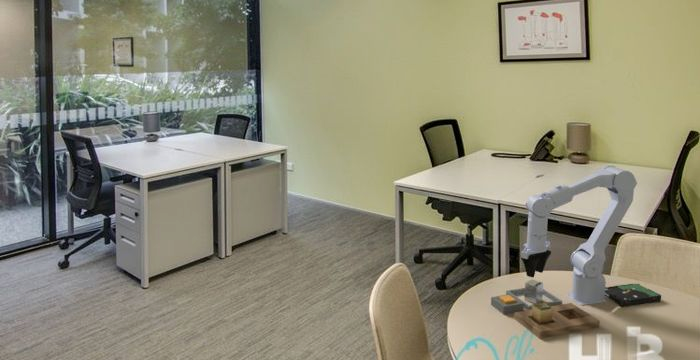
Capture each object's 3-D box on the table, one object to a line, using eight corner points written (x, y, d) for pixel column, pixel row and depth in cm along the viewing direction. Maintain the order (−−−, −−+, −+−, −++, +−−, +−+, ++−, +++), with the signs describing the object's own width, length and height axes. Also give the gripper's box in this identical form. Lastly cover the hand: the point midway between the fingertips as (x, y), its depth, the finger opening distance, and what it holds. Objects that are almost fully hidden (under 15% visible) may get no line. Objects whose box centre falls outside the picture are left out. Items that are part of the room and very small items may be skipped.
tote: (537, 291, 171) (538, 285, 171) (561, 306, 160) (562, 300, 159) (505, 296, 168) (506, 290, 167) (528, 312, 156) (528, 306, 156)
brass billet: (542, 321, 150) (543, 301, 149) (551, 327, 146) (552, 307, 145) (531, 323, 149) (532, 303, 148) (539, 329, 145) (540, 309, 144)
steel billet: (530, 296, 166) (531, 278, 165) (542, 300, 164) (543, 282, 162) (524, 300, 164) (525, 282, 163) (535, 304, 161) (536, 286, 160)
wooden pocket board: (570, 310, 157) (571, 302, 157) (599, 328, 146) (599, 320, 145) (514, 320, 152) (514, 312, 151) (539, 340, 141) (539, 331, 140)
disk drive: (622, 309, 158) (661, 302, 162) (622, 301, 158) (662, 294, 161) (598, 295, 168) (636, 289, 172) (599, 287, 168) (636, 281, 171)
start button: (508, 303, 161) (509, 295, 160) (515, 308, 158) (515, 299, 157) (498, 305, 160) (499, 296, 159) (505, 310, 157) (505, 301, 156)
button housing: (510, 302, 163) (510, 294, 163) (523, 312, 157) (523, 303, 156) (490, 305, 161) (491, 297, 161) (503, 315, 155) (503, 306, 154)
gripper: (537, 225, 166) (535, 264, 169) (512, 235, 157) (511, 276, 160) (557, 230, 161) (555, 270, 164) (533, 241, 152) (531, 283, 155)
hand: (534, 274), depth 162 cm, fingers open, 5 cm apart
